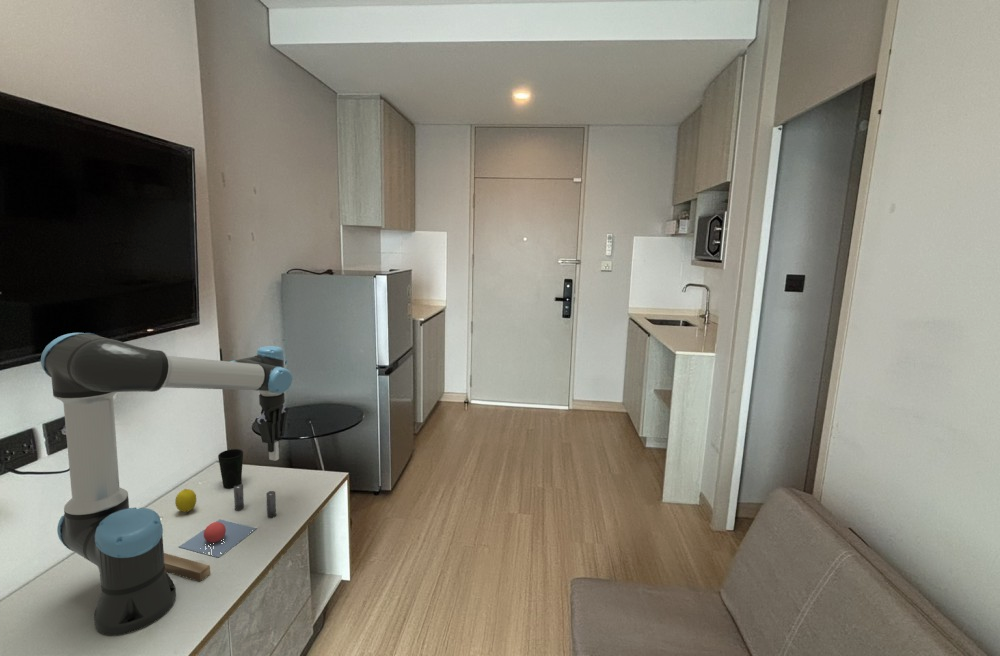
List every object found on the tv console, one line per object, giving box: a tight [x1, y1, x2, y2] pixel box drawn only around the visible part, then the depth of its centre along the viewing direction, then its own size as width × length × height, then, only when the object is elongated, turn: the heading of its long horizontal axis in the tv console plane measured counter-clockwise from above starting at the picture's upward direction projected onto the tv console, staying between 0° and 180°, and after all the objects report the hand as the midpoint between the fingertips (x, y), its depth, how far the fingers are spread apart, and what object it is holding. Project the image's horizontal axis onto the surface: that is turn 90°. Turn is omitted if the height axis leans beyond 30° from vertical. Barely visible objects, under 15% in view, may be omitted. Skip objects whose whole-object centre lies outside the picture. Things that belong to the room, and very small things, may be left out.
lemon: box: [174, 488, 197, 513], centre depth 145 cm, size 6×6×8 cm
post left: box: [233, 483, 245, 512], centre depth 148 cm, size 3×3×8 cm
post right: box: [266, 490, 277, 519], centre depth 145 cm, size 3×3×8 cm
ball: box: [204, 521, 226, 543], centre depth 132 cm, size 6×6×6 cm
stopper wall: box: [164, 552, 211, 582], centre depth 121 cm, size 3×20×2 cm, turn 76°
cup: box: [217, 448, 244, 490], centre depth 162 cm, size 8×8×12 cm
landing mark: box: [178, 519, 258, 559], centre depth 134 cm, size 14×14×1 cm
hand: (274, 459), depth 154 cm, fingers closed
